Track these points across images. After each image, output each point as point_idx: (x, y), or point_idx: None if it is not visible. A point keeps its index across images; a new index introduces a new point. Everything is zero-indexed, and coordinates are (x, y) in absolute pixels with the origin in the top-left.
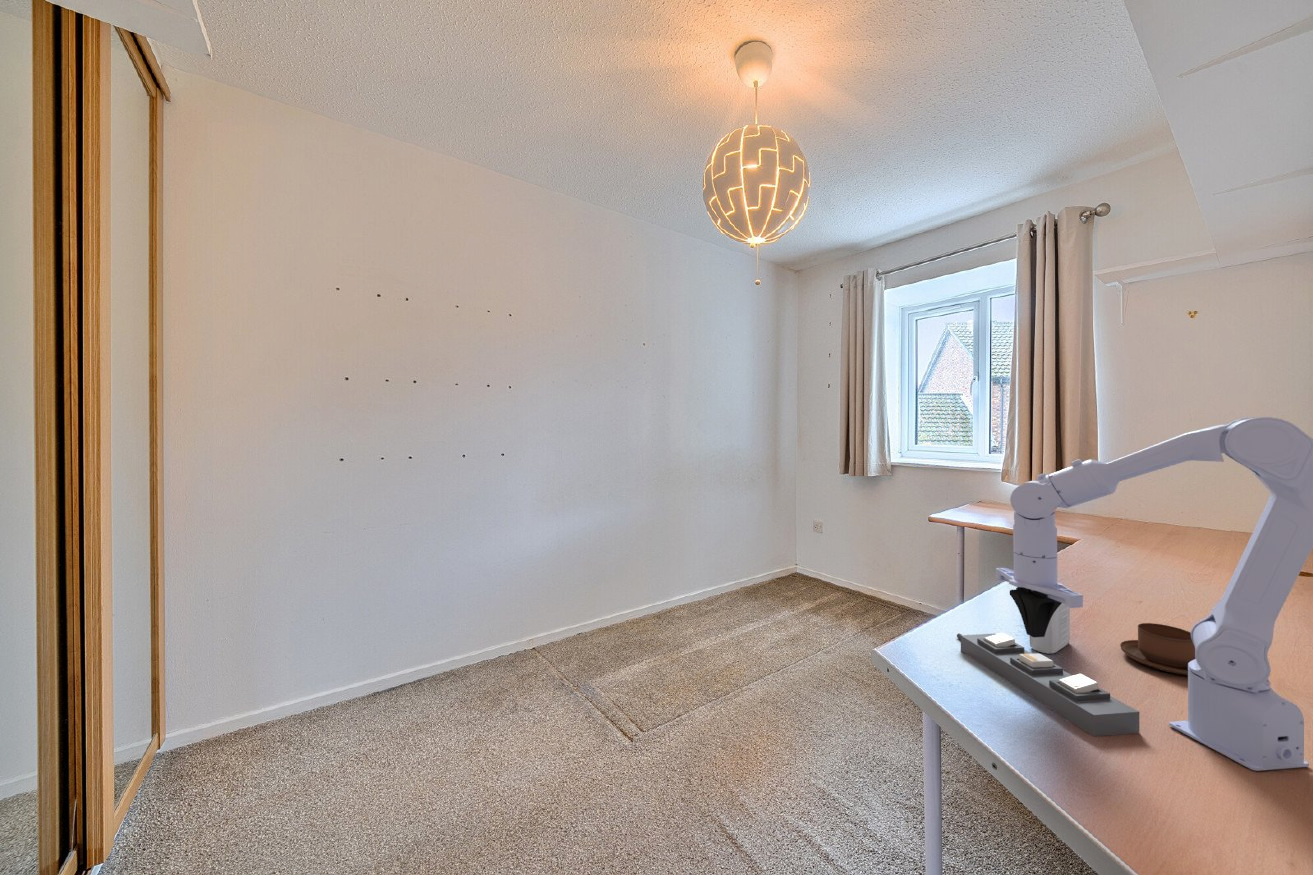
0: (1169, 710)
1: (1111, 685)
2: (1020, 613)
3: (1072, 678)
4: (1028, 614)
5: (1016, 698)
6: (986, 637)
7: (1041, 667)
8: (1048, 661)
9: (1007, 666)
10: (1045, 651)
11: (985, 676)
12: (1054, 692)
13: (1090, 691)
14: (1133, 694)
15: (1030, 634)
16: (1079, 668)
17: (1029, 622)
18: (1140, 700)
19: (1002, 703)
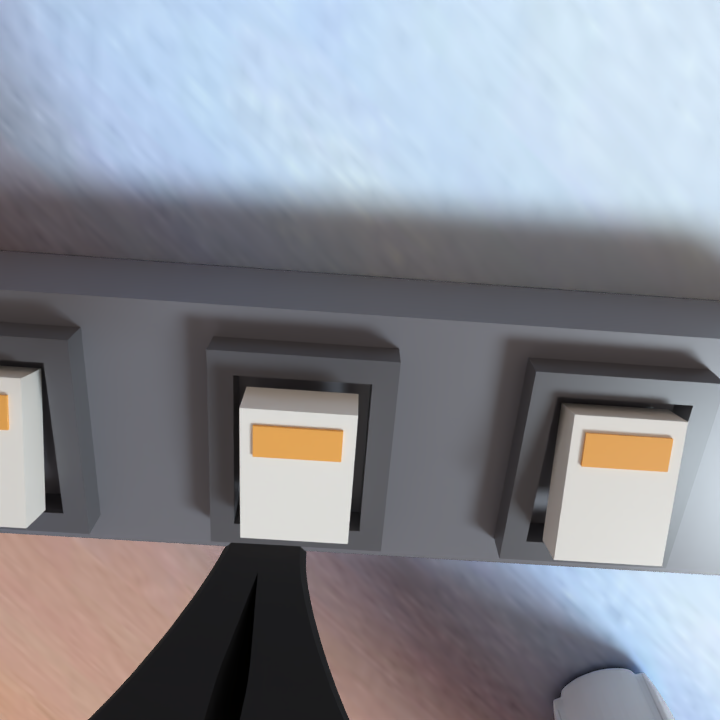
0: (63, 696)
1: None
2: (323, 682)
3: (3, 450)
4: (176, 704)
5: (196, 158)
6: (681, 431)
7: None
8: (242, 508)
9: (383, 306)
10: (571, 687)
11: (460, 188)
12: (3, 286)
13: None
14: None
15: (253, 550)
16: (413, 690)
17: (213, 630)
18: None
19: (148, 11)
